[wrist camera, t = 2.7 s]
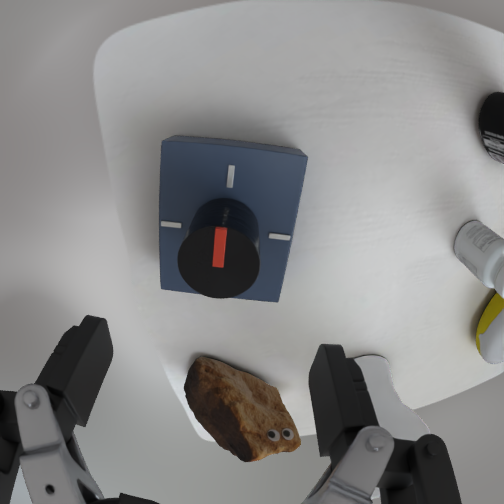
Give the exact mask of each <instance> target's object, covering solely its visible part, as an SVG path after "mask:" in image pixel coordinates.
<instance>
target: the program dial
mask: <svg viewBox="0 0 504 504" xmlns="http://www.w3.org/2000/svg"><path fill="white" fill-rule="evenodd" d="M177 264H178V269H179V272H180V274H181V276H182V278H183V279H184V281H185V282H186V283H187V284H188V285H189V286H190V287H191V288H192V289H193V290H195V291H196V292H198V293H200V294H202V295H205V296H208V297H211V298H220V299H221V298H231V297H235V296H237V295H240V294H242V293H244V292H245V291H247V290H248V289H249V288H250V287H251V286H252V285H253V284H254V283H255V281H256V280H257V278H258V275H259V272H260V267H261V260H260V242H259V226H258V221H257V219H256V217H255V215H254V213H253V212H252V210H251V209H250V208H249V207H247V206H246V205H245V204H243V203H242V202H240V201H237V200H234V199H230V198H219V199H214V200H211V201H209V202H207V203H205V204H204V205H203V206H202V207H200V208H199V210H198V211H197V212H196V214H195V216H194V218H193V220H192V222H191V224H190V226H189V228H188V231H187V233H186V235H185V237H184V239H183V241H182V244H181V246H180V248H179V251H178V256H177Z"/></svg>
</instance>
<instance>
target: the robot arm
mask: <svg viewBox="0 0 504 504" xmlns="http://www.w3.org/2000/svg"><path fill="white" fill-rule="evenodd" d="M112 357H113V345H112V341H111V337H110V332H109V328H108V324H107V321H106V319H104V318H100V317H94V316H90V315H87V316H85V318H84V319H83V321H82V322H81V324H80V325H79V326H73V327H72V328H70V329H69V330H68V331H66V332H65V333H64V335H63V336H62V338H61V340H60V341H59V343H58V345H57V346H56V348H55V349H54V352H53V353H52V354H51V356H50V358H49V359H48V361H47V363H46V364H45V366H44V368H43V370H42V371H41V373H40V375H39V377H38V379H37V380H36V382H35V383H34V384H27V385H25V386H23V387H22V388H20V390H18V392H14V391H1V390H0V504H10V500H11V495H12V491H13V487H14V484H15V480H16V476H17V473H18V469H19V466H20V465H21V469H22V472H23V476H24V479H25V483H26V486H27V489H28V492H29V495H30V498H31V501H32V503H33V504H159V503H157V502H154V501H152V500H148V499H143V498H139V497H135V496H130V495H127V494H123V493H120V496H119V498H107V499H105V498H104V496H103V494H102V492H101V490H100V489H99V487H98V485H97V484H96V482H95V481H94V479H93V478H92V476H91V474H90V472H89V470H88V468H87V466H86V463H85V461H84V458H83V456H82V453H81V451H80V448H79V445H78V443H77V440H76V437H75V434H74V432H73V430H74V427H75V425H76V424H77V425H80V426H83V427H86V424H87V421H88V419H89V416H90V413H91V410H92V408H93V405H94V403H95V400H96V398H97V395H98V393H99V390H100V388H101V385H102V383H103V380H104V378H105V375H106V373H107V371H108V368H109V366H110V364H111V361H112ZM364 380H365V379H364V376H363V373H362V370H361V368H360V366H359V365H358V364H357V363H356V362H355V360H354V359H353V358H346V356H345V353H344V350H343V347H342V346H341V345H336V344H321V345H320V346H319V349H318V351H317V354H316V356H315V359H314V361H313V364H312V366H311V369H310V372H309V389H310V395H311V401H312V407H313V413H314V420H315V426H316V432H317V439H318V445H319V452H320V457H322V456H330V460H331V464H330V465H329V466H328V468H327V469H326V471H325V472H324V474H323V475H322V477H321V478H320V479H319V481H318V482H317V484H316V485H315V487H314V488H313V489H312V491H311V492H310V493H309V495H308V496H307V497H306V499H305V500H304V501H303V502H302V503H301V504H372V503H373V502H372V500H371V496H372V494H373V492H374V490H375V488H376V487H378V488H379V490H380V497H381V504H462V503H461V499H460V494H459V490H458V486H457V482H456V479H455V475H454V471H453V468H452V464H451V461H450V458H449V454H448V451H447V448H446V445H445V443H444V441H443V440H442V439H441V438H440V437H438V436H436V435H434V434H425V435H423V436H421V437H420V438H419V439H418V440H417V441H411V440H404V439H397V438H394V437H392V436H391V434H390V433H389V432H388V431H387V430H386V429H384V428H382V427H380V425H379V423H378V420H377V416H376V413H375V410H374V407H373V404H372V400H371V397H370V394H369V391H367V389H368V388H367V385H366V382H365V381H364Z"/></svg>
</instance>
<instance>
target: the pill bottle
mask: <svg viewBox="0 0 504 504" xmlns="http://www.w3.org/2000/svg"><path fill="white" fill-rule="evenodd" d="M454 250H455V254H456V256H457V258H458V259H459V260H460V261H461V262H462V263H463V264H464V265H465V266H466V267H467V268H468V269H469V270H470V271H471V272H472V273H473V274H474V275H475V276H476V277H477V278H478V279H479V280H480V281H481V282H482V283H483V284H484V285H485V286H486V287H488V288H495V290H496V291H497V293H498V294H499V295H500V296H501V297H502V298H503V299H504V239H503V238H501V237H500V236H499V235H497V234H496V233H495V232H493V231H492V230H491V229H489V228H488V227H487V226H485V225H484V224H482V223H481V222H479V221H471V222H469V223H467V224H466V225H464V226H463V227H462V228H461V230H460V231H459V233H458V235H457V237H456V240H455V246H454Z"/></svg>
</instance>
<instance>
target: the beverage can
mask: <svg viewBox="0 0 504 504" xmlns="http://www.w3.org/2000/svg"><path fill="white" fill-rule="evenodd" d="M479 131H480V135H481V139H482V141H483V144H484V146H485V148H486V150H487V152H488V153H489V155H490V156H491V157H492V158H493V159H494V160H496V161H498V162H501V163H503V164H504V93H502V92H495V93H493V94H491V95H489V96H488V97H487V99H486V100H485V102H484V104H483V105H482V108H481V111H480V115H479Z"/></svg>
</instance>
